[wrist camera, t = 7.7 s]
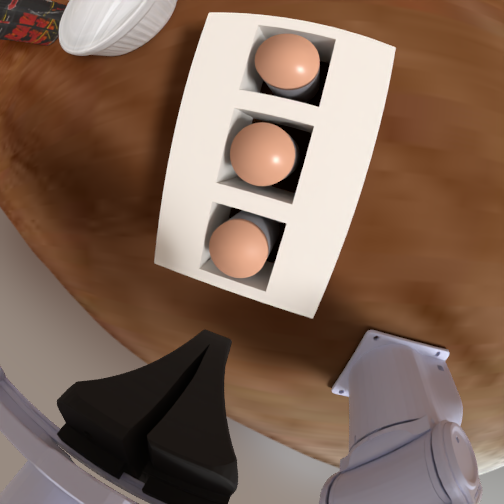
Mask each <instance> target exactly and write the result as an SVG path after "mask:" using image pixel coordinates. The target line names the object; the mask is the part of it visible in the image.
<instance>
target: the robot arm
mask: <svg viewBox="0 0 504 504" xmlns="http://www.w3.org/2000/svg"><path fill="white" fill-rule="evenodd" d="M375 336H378V337H377V338H374V337H375ZM231 343H232V341H231V340H230V339H229V338H226V337H223V336H221V335H218V334H215V333H213V332H210V331H208V330H203V331H201V332H200V333H199V334H198V335H196V336H195V337H194V338H192V339H191V340H190V341H188V342H187V343H185V344H184V345H182V346H181V347H179V348H178V349H176V350H175V351H173V352H171V353H170V354H168V355H166V356H164V357H162V358H160V359H159V360H157V361H155V362H153V363H150V364H148V365H146V366H143V367H141V368H138V369H136V370H133V371H130V372H127V373H124V374H120V375H116V376H112V377H108V378H103V379H98V380H89V381H80V382H76V383H75V384H73V385H72V386H71V387H70V388H69V389H67V391H66V392H65V393H64V394H63V395H62V396H61V397H60V398H59V399H58V400H57V406H58V408H59V410H60V412H61V414H62V416H63V418H64V420H65V422H66V424H65V425H64V426H63V427H62V428H61V429H60V428H59V427H57V426H56V425H55V424H54V423H53V422H51V421H50V420H49V419H48V418H47V417H46V416H44V415H43V414H42V413H41V412H40V411H39V410H38V409H37V408H36V407H34V406H33V404H31V403H30V402H29V401H28V400H27V399H26V398H25V397H24V396H23V395H22V394H21V393H20V392H19V391H18V389H17V388H16V387H15V386H14V385H13V384H12V383H11V382H10V381H9V380H8V379H7V378H6V376H5V373H4V371H3V370H2V368H1V366H0V431H1V432H2V433H3V434H4V435H5V437H6V438H7V439H8V440H9V441H10V442H11V443H12V444H13V445H14V446H15V448H17V450H18V451H19V452H20V453H21V454H22V455H23V456H24V457H25V458H26V459H27V460H28V461H27V462H26V464H25V465H24V466H23V467H22V468H21V470H19V472H18V473H17V474H16V475H15V476H14V478H13V479H12V480H11V481H10V483H9V484H8V485H7V486H6V487H5V489H4V490H3V491H2V492H1V494H0V504H138V503H137V502H135V501H133V500H131V499H129V498H128V497H126V496H124V495H122V494H120V493H119V492H117V491H116V490H114V489H112V488H111V487H109V486H107V485H106V484H104V483H102V482H101V481H99V480H98V479H96V478H95V477H93V476H92V475H90V474H89V473H87V472H86V471H84V470H82V469H81V468H79V467H78V466H77V465H76V464H75V463H74V462H73V461H72V460H71V458H70V456H69V455H68V454H67V453H69V454H70V455H71V456H73V457H74V458H75V459H77V460H78V461H79V462H81V463H82V464H84V465H85V466H86V467H88V468H89V469H91V470H92V471H94V472H96V473H97V474H99V475H100V476H102V477H103V478H105V479H106V480H108V481H110V482H111V483H113V484H115V485H116V486H118V487H120V488H121V489H123V490H125V491H127V492H129V493H131V494H132V495H134V496H136V497H138V498H140V499H142V500H144V501H146V502H148V503H150V504H228V502H229V499H230V496H231V495H232V494H233V493H234V492H235V490H236V489H237V485H238V470H237V459H236V456H235V453H234V449H233V446H232V442H231V438H230V434H229V429H228V424H227V418H226V410H225V399H224V374H225V365H226V361H227V358H228V354H229V351H230V347H231ZM437 352H438V353H437ZM448 356H449V351H448V350H447V349H443V348H439V347H435V346H431V345H428V344H424V343H420V342H416V341H412V340H408V339H405V338H401V337H397V336H394V335H390V334H386V333H383V332H379V331H376V330H368V331H367V332H366V333H365V335H364V337H363V339H362V340H361V342H360V344H359V345H358V347H357V349H356V351H355V352H354V354H353V356H352V357H351V359H350V360H349V362H348V364H347V365H346V367H345V368H344V370H343V372H342V373H341V375H340V376H339V378H338V379H337V381H336V382H335V384H334V385H333V387H332V392H333V393H335V394H339V395H343V396H348V397H349V454H348V455H347V456H346V457H345V458H342V459H341V460H340V472H337V473H335V474H333V475H332V476H331V477H330V478H329V479H328V480H327V481H326V483H325V484H324V486H323V488H322V491H321V494H320V501H319V504H480V500H481V497H482V486H481V483H480V479H479V475H478V466H477V461H476V457H475V454H474V451H473V448H472V446H471V443H470V441H469V439H468V437H467V435H466V434H465V432H464V431H463V429H462V428H461V427H460V425H461V421H462V415H463V407H462V401H461V398H460V396H459V393H458V391H457V388H456V386H455V383H454V381H453V378H452V376H451V374H450V371H449V369H448V367H447V364H446V362H445V360H446V359H447V358H448ZM340 390H342V391H340ZM58 445H59V446H60V447H61V448H62V449H64V450H65V451H66V452H67V453H66V452H65V451H64V450H62V449H61V448H60V447H59V446H58Z"/></svg>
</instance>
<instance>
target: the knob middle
mask: <svg viewBox="0 0 504 504" xmlns="http://www.w3.org/2000/svg"><path fill="white" fill-rule="evenodd" d="M230 160H231V164H232V167H233V169H234V171H235V172H236V173H237V175H238V176H239V177H240V178H241V179H242V180H244V181H245V182H247V183H249V184H252V185H256V186H269V185H273V184H275V183H277V182H279V181H281V180H283V179H285V178H286V177H288V176H290V175H291V174H292V173H293V172H294V171H295V170H296V168H297V167H298V165H299V162H300V150H299V147H298V145H297V143H296V141H295V140H294V139H293V138H292V137H291V136H290V135H288V134H287V133H286V132H285V131H284V130H282V129H281V128H280V127H278V126H276V125H274V124H271V123H265V122H260V123H254V124H251V125H248V126H246V127H245V128H243V129H242V130H241V131H240V132H239V133H238V134H237V135H236V136H235V138H234V140H233V142H232V144H231V148H230Z"/></svg>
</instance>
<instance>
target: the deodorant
mask: <svg viewBox="0 0 504 504" xmlns="http://www.w3.org/2000/svg"><path fill="white" fill-rule="evenodd" d="M66 7H67V6H66V5H63V4H60V3H57V2H53V1H50V0H0V39H3V40H13V41H21V42H28V43H35V44H41V45H47V46H48V45H50V44H52V43H53V42H54V41H55V40H56V39H57V38H58V37H59V25H60V21H61V18H62V15H63V13H64V11H65V9H66Z"/></svg>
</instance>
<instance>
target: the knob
mask: <svg viewBox="0 0 504 504" xmlns="http://www.w3.org/2000/svg"><path fill="white" fill-rule="evenodd" d="M255 66H256V69H257V71H258V73H259V75H260V76H261V77H262V79H263V80H264V81H265V82H266V84H267V85H268V87H269V88H270V89H271V91H272V92H273V93H274V95H275V96H277V97H281V98H286V99H290V100H294V101H298V102H302V103H305V102H307V101H309V100H311V99H312V98H313V97H314V96H315V95H316V94H317V92H318V90H319V86H320V59H319V54H318V51H317V49H316V48H315V46H314V45H313V44H312V43H311V42H310V41H309V40H307V39H306V38H304V37H302V36H299V35H295V34H278V35H275V36H272V37H270V38H268V39H267V40H265V41H264V42H263V43H262V44H261V45H260V46H259V48H258V50H257V52H256V54H255Z"/></svg>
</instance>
